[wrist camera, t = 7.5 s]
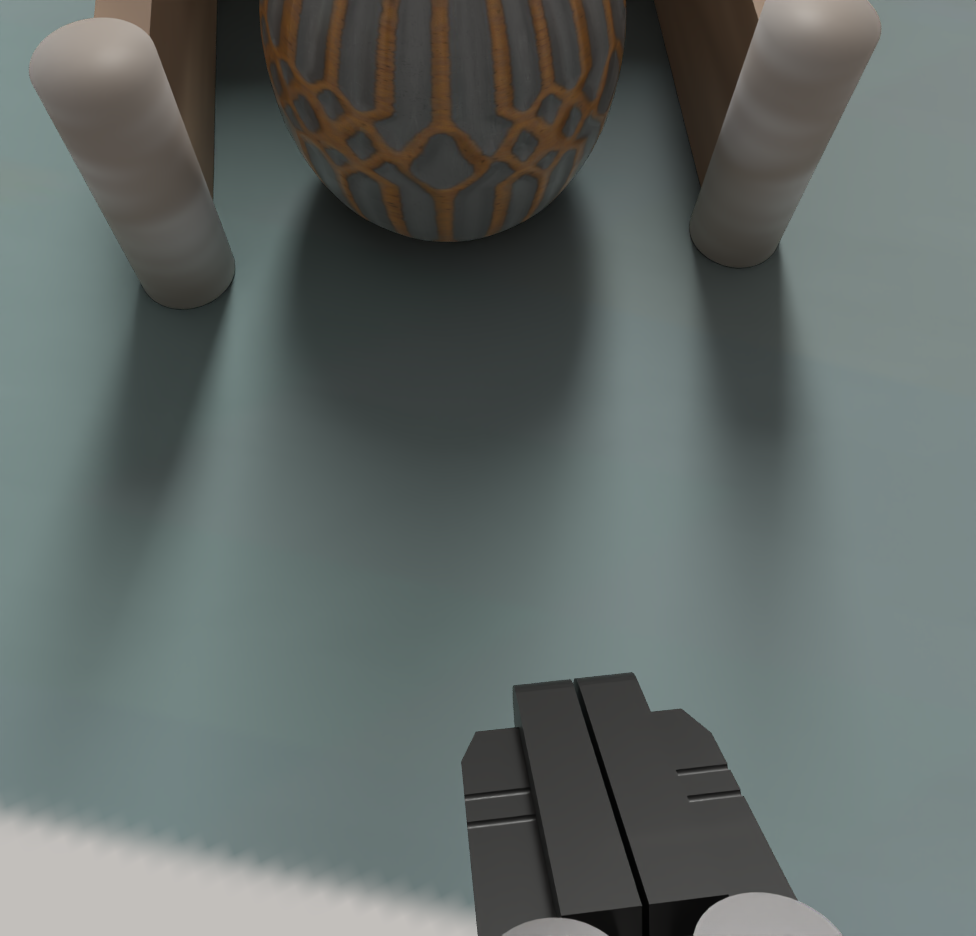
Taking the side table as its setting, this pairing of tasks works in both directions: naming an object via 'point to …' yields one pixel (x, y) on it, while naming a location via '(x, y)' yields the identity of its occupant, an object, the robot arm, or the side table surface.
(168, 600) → the side table surface
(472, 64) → the vase
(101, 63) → the housing
